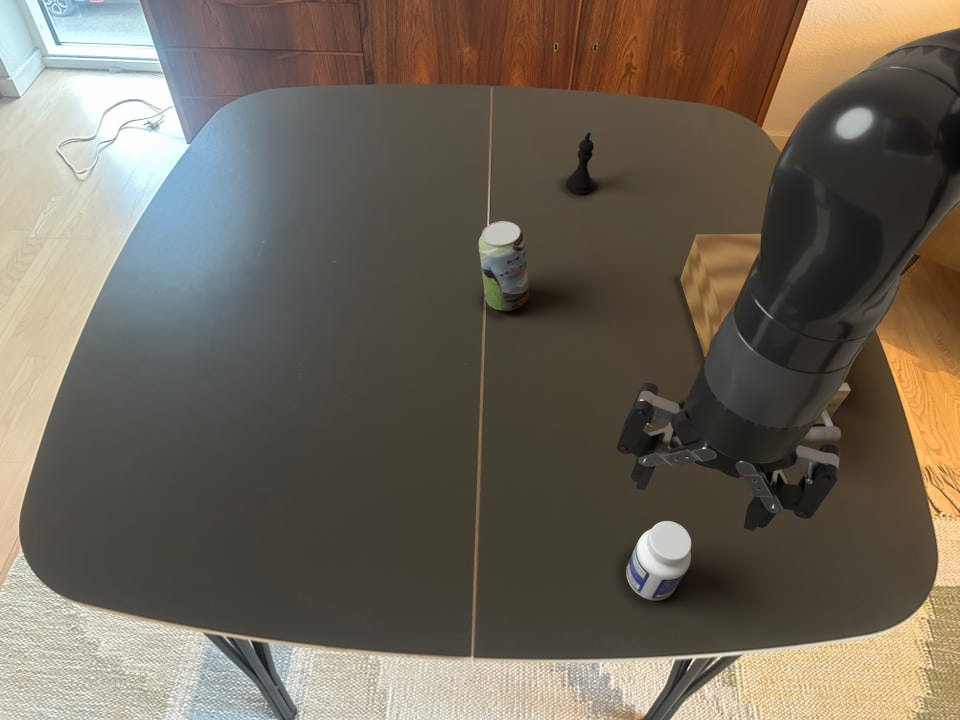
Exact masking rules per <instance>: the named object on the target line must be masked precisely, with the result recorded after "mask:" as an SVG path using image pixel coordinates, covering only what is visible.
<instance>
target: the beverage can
mask: <svg viewBox="0 0 960 720" xmlns="http://www.w3.org/2000/svg"><path fill="white" fill-rule="evenodd" d="M526 242H527V241H526V236H525V235H524V233H523V232H522V231H521V229H520V227H519V226H518V225H517V224H516V223H514V222H511V221H507V220H506V221H505V220H502V221H495V222H492V223H489V224H487V225H486V226H485V227H484V228H483V230H482V231H481V235H480V237H479V240H478V251H479V259H480V260H479V261H480V267H481V275H482V283H483V288H484V289H483V292H484V298H485V302H486V304H487V305H488V306H489V307H490V308H492V309H494V310H497V311H501V312H503V311H504V312H510V311H514V310H517V309H520V308H521V307H523V306H524V305H525V304H526V303H527V302H528V300H529V297H530V287H529V286H530V285H529V273H528V258H527V257H528V256H527V243H526Z"/></svg>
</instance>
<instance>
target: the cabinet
mask: <svg viewBox="0 0 960 720" xmlns="http://www.w3.org/2000/svg"><path fill="white" fill-rule="evenodd" d="M760 240H761V233H707V234H706V233H695V237H694V239H693V242H692V245H691V248H690V250H689V252H688V253H689V254H688V255H687V259H686V262H685V263H684V267H683V270H682V273H681V277H680V279H679V281H680V284H681V287H682V289H683V293H684V297H685V300H686V303H687V306H688V309H689V312H690V316H691V318H692V322H693V325H694V329H695V332H696V334H697V338H698V341H699V344H700V347H701V350H702V353H703V356H704V358H705V357H706V355H707V353H708V351H709V346H710V342H711V339H712V338H713V336H714V334H715V333H716V332H717V331H718V329H719V327H720V325H721V323H722V321H723V320H724V318H725V317H726V315H727V314H728V312H729V311H730V310H731V308H732V307H733V305H734V303H735V301H736V300H737V298H738V295H739V293H740V291H741V289H742V287H743V284H744V282H745V280H746V278H747V276H748V274H749V271H750V269H751V267H752V264H753V262H754V260H755V259H756V257H757V255H758V253H759V252H760Z"/></svg>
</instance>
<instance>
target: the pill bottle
mask: <svg viewBox="0 0 960 720" xmlns="http://www.w3.org/2000/svg"><path fill="white" fill-rule="evenodd" d="M691 549H692V539H691V536H690V533H689V531H688V530H687V529H686V528H684V526H683V525H681V524H680V523H677V522H675V521H670V520H663V521H660V522H657V523H656V524H655V525H653V526H652V528H650V529H648V530H646V531H645V532H643V534H641V536H640V538H639V539H638V541H637V543H636V545H635V547H634V550H633V551H632V554H631V555H630V558H629V560H628V563H627V565H626V570H625V571H626V573H625V574H626V579H627V582H628V584H629V586H630V588H631V589H632V590H633V591H634V592H635V594H637V595H639V596H640V597H642V598H644V599H646V600H649V601H662V600H665V599H667V598H668V597H670V596H671V595H673V593H674V592H675V590H676V588H677V587H678V585H679V583H680V582H681V581H682V579H683V578H684V576H685V574H686V572H688V569H689V568H690V565H691V561H692V553H691Z"/></svg>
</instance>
